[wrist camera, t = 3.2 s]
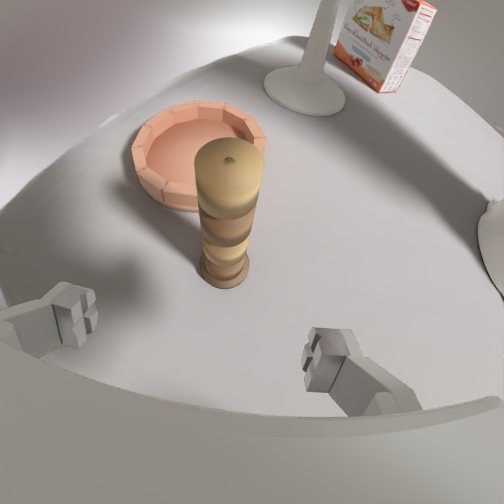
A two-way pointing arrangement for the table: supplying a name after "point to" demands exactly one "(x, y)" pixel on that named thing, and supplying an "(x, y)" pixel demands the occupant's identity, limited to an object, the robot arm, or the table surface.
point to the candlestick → (309, 72)
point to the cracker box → (383, 39)
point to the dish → (185, 147)
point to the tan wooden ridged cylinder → (227, 207)
